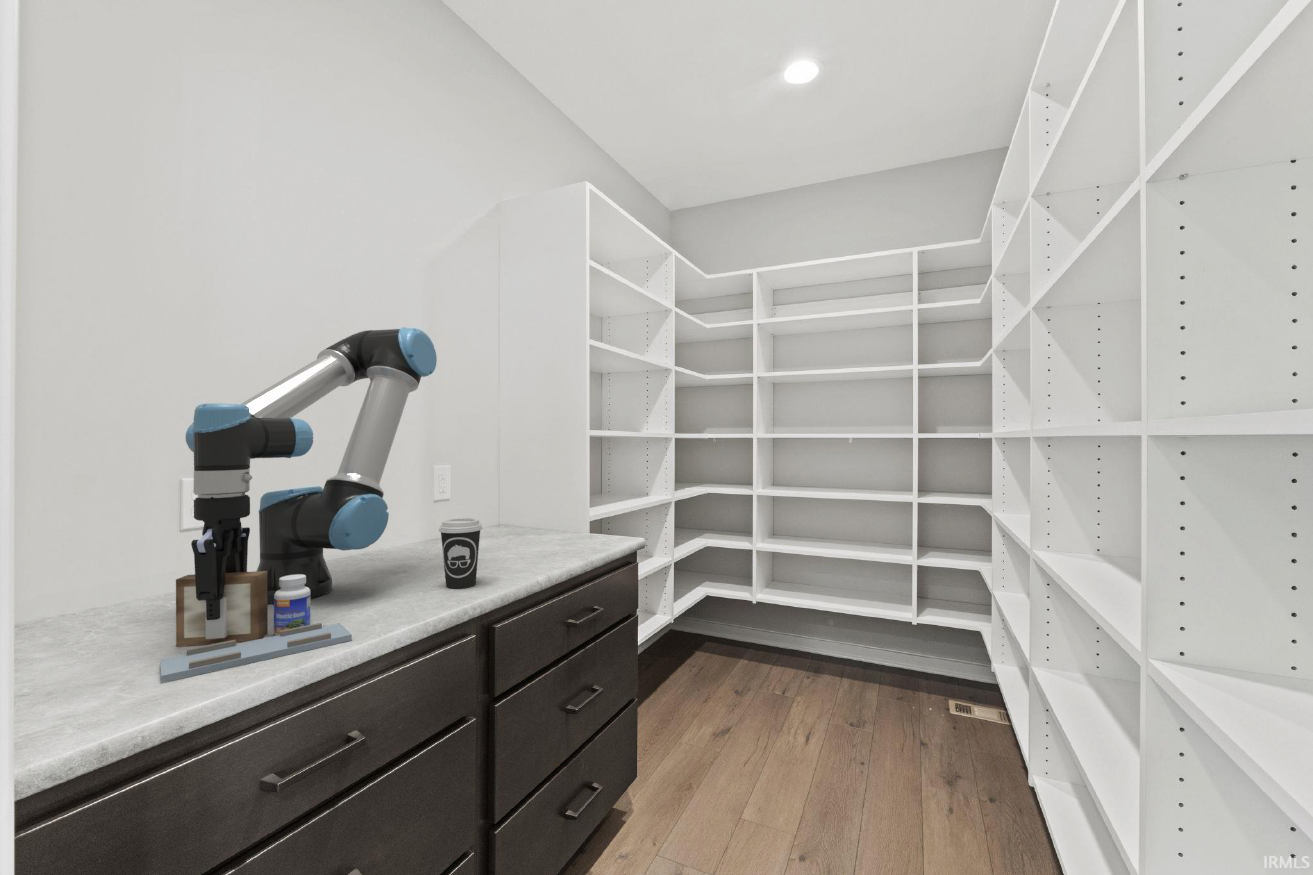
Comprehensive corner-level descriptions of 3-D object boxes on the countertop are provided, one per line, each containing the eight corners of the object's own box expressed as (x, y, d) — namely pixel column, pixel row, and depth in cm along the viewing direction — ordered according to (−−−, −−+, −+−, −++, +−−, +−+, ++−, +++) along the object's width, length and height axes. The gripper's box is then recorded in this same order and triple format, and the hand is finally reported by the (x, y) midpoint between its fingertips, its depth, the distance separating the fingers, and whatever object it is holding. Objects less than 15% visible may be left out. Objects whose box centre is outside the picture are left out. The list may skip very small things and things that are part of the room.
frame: (175, 646, 91) (175, 579, 91) (188, 639, 95) (187, 574, 95) (258, 640, 94) (258, 575, 94) (267, 633, 97) (267, 570, 97)
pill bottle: (271, 639, 94) (271, 582, 94) (276, 629, 99) (275, 575, 99) (309, 634, 97) (308, 578, 97) (311, 625, 102) (311, 571, 102)
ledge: (160, 665, 84) (160, 653, 84) (339, 628, 100) (339, 618, 100) (161, 682, 78) (161, 670, 78) (351, 640, 94) (351, 629, 94)
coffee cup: (491, 583, 130) (491, 519, 130) (457, 593, 122) (456, 524, 122) (464, 578, 136) (464, 516, 136) (429, 587, 128) (429, 521, 128)
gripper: (221, 499, 87) (221, 649, 87) (270, 490, 103) (270, 616, 103) (165, 500, 85) (165, 653, 85) (223, 491, 101) (224, 619, 101)
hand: (223, 633), depth 94 cm, fingers closed on frame, 3 cm apart
